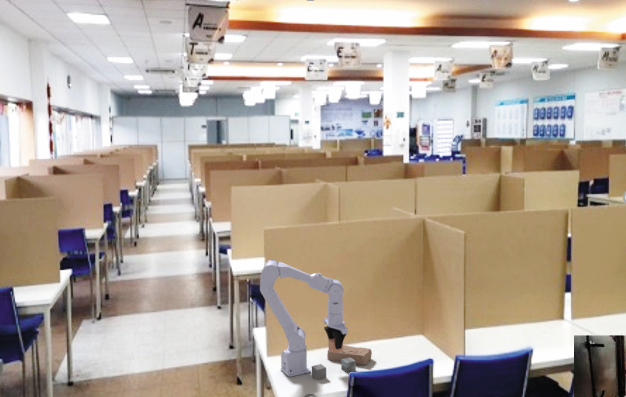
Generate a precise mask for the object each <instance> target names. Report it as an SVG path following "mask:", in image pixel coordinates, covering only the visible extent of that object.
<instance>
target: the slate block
mask: <svg viewBox="0 0 626 397" xmlns="http://www.w3.org/2000/svg"><path fill="white" fill-rule="evenodd" d="M340 366H341V370H342V371H343V372H345V373H346V374H347V373H348V372H349V373H351V372H350V371H353V372H356V371H357V367H356V366H357V364H356V361H355V360H353V359H352V358H346V359H341V365H340Z"/></svg>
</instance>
